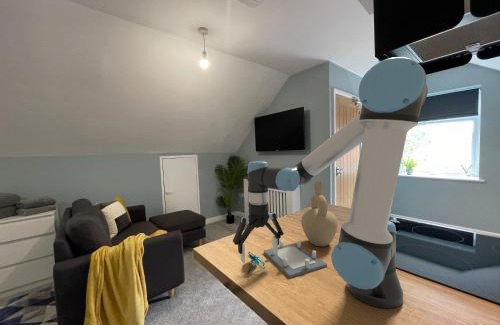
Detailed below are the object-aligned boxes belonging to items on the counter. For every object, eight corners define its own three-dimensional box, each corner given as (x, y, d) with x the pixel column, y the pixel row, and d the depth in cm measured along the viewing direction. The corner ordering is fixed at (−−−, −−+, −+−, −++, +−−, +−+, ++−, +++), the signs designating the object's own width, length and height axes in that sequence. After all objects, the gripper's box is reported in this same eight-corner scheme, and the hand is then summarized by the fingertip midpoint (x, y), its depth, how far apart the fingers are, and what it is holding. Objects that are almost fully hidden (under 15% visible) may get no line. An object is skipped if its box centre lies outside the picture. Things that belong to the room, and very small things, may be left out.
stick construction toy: (269, 265, 77) (253, 251, 77) (258, 282, 74) (241, 267, 74) (261, 260, 88) (247, 248, 88) (251, 275, 85) (236, 262, 86)
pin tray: (327, 266, 81) (326, 256, 80) (289, 278, 74) (289, 267, 74) (295, 245, 100) (295, 236, 100) (263, 253, 94) (263, 243, 93)
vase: (344, 250, 93) (343, 184, 92) (307, 252, 93) (305, 185, 91) (329, 236, 110) (328, 179, 108) (298, 237, 109) (296, 180, 108)
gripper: (281, 196, 86) (282, 246, 87) (223, 204, 77) (225, 259, 78) (292, 200, 79) (292, 254, 80) (229, 209, 70) (231, 270, 71)
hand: (259, 257), depth 79 cm, fingers open, 13 cm apart
